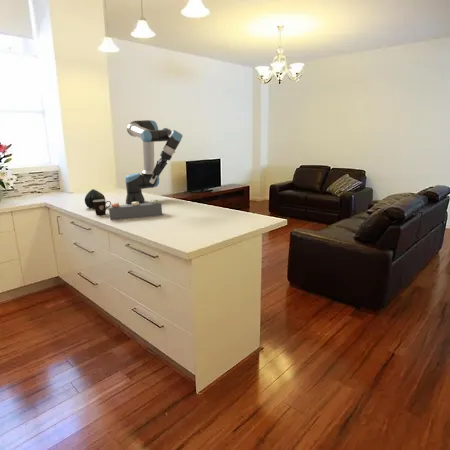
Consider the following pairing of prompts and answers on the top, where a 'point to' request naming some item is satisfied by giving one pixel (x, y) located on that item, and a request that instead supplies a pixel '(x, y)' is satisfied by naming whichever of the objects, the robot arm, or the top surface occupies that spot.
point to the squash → (93, 198)
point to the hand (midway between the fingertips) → (151, 182)
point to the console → (135, 211)
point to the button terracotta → (115, 205)
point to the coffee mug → (100, 206)
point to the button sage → (154, 201)
